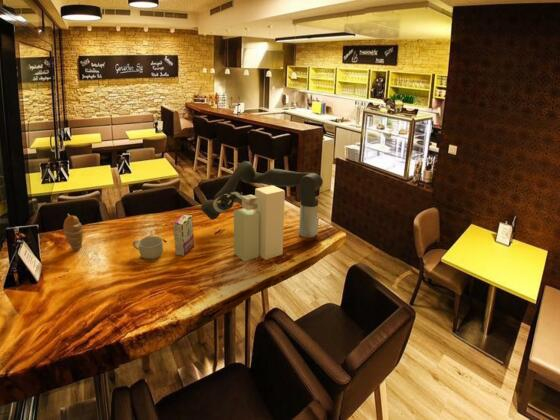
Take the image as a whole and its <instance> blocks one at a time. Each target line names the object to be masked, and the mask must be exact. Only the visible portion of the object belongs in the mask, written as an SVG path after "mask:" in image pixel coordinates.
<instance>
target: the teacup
mask: <svg viewBox="0 0 560 420" xmlns="http://www.w3.org/2000/svg"><path fill="white" fill-rule="evenodd" d="M163 242H164V241H163V238H162V237H160V236H157V235H150V236H149V235H148V236H145V237H143V238H141V239H135V240H134V241H132V246H133V248H134V249H135V250H138V252H139V254H140V256H141V257H142V258H143V259H146V260H155V259H157V258H159V257H160V256H162V254H163V252H164V245H163V244H164V243H163ZM136 243H137V244H136ZM137 245H138V246H137Z"/></svg>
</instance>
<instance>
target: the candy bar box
mask: <svg viewBox="0 0 560 420" xmlns="http://www.w3.org/2000/svg"><path fill="white" fill-rule="evenodd" d="M193 224H194V223H193V215H188V214H182V215H181V216H179V217H178V218H177V219H176V220H175V221H174V222H173V223H172V228H173V230H172V231H173V239H174V249H175V255H177V256H182V257H185V256H187V254H188V253H189V252H190V251H191V250H192V249H193V248H194V247H195V238H194V226H193Z"/></svg>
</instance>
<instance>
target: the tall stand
mask: <svg viewBox="0 0 560 420" xmlns="http://www.w3.org/2000/svg"><path fill="white" fill-rule="evenodd" d="M254 189H255V191H254V196H256V197H257V198H258V208H256V209H254V211H256V212H258V213H259V257H261V258H262V259H264V260H265V261H266V260H268V259H272V258H275V257H279V256H282V255H283V254H284V253H283V252H284V251H283V250H284V249H283V248H284V229H285V227H284V226H285V225H284V224H285V198H286V197H285V195H286V194H285V193H286V191H285V190H284V189H282V188H281V187H279V186H273V185H268V186H264V187H263V186H262V187H257V188H254Z"/></svg>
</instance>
